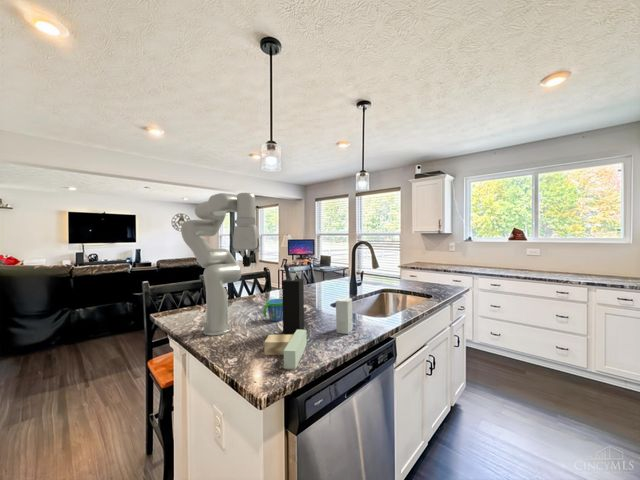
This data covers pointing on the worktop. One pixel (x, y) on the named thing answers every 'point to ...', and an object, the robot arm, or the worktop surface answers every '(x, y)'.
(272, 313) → the snack cup
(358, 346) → the worktop surface
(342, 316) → the skincare box
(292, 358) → the board
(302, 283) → the tall black block
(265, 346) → the maple block
